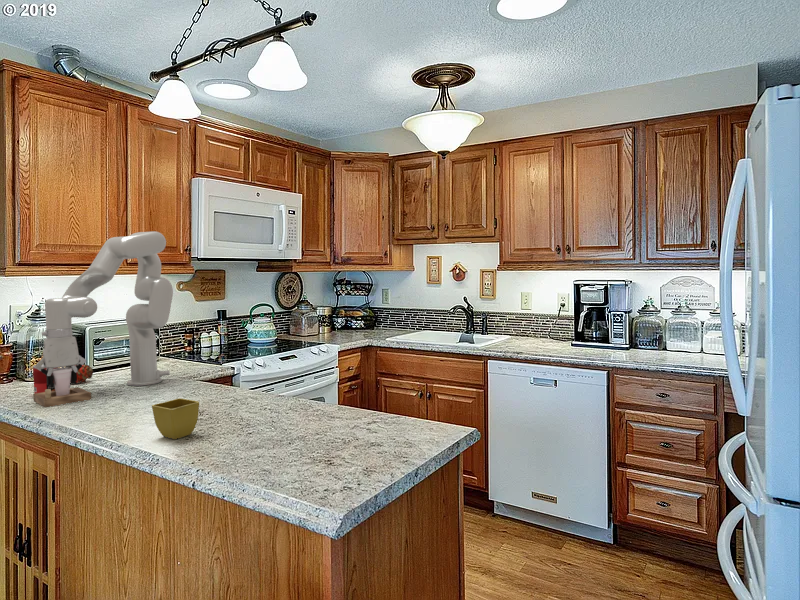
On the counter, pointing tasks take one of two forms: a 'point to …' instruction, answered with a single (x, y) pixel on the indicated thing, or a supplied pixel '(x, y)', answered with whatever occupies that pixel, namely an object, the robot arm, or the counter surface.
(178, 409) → the flower pot
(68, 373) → the smoothie
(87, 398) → the wooden tray
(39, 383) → the canned food
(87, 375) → the dragon fruit
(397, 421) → the counter surface
